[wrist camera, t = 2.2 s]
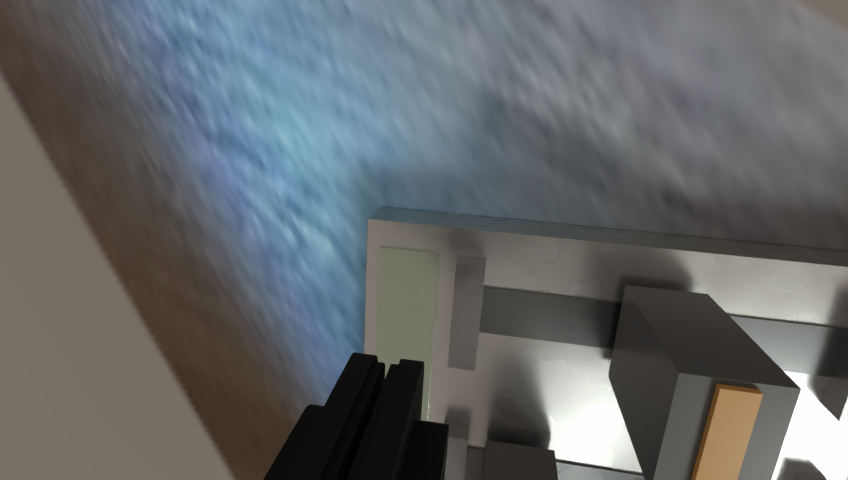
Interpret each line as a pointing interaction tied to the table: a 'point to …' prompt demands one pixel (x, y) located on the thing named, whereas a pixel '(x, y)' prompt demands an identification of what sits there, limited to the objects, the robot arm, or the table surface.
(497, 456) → the handle middle
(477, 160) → the table surface
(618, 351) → the orange striped slider handle
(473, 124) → the table surface
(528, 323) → the panel
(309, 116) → the table surface
